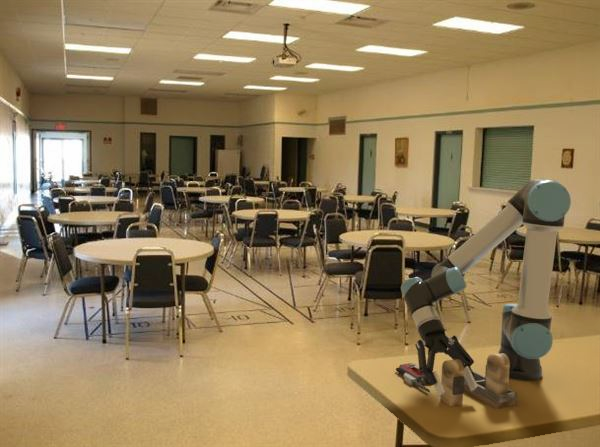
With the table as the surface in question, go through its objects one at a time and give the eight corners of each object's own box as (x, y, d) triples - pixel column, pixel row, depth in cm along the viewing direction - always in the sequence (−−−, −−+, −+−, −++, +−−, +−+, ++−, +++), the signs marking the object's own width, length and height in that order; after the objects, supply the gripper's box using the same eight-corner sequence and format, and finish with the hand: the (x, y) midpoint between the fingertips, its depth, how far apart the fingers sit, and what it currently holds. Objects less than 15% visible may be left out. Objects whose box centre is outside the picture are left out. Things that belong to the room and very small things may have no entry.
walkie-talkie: (389, 373, 200) (425, 396, 182) (390, 360, 200) (426, 382, 182) (412, 370, 204) (449, 392, 186) (412, 357, 203) (450, 378, 185)
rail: (472, 380, 195) (474, 337, 193) (517, 404, 176) (520, 357, 175) (452, 383, 191) (454, 340, 190) (495, 408, 173) (498, 360, 172)
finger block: (451, 397, 180) (453, 356, 179) (464, 405, 175) (466, 363, 174) (440, 399, 179) (442, 358, 177) (452, 407, 174) (454, 364, 172)
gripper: (453, 326, 194) (483, 391, 182) (391, 334, 185) (418, 402, 172) (465, 314, 189) (497, 380, 176) (401, 321, 179) (430, 391, 167)
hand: (458, 391), depth 174 cm, fingers open, 11 cm apart
